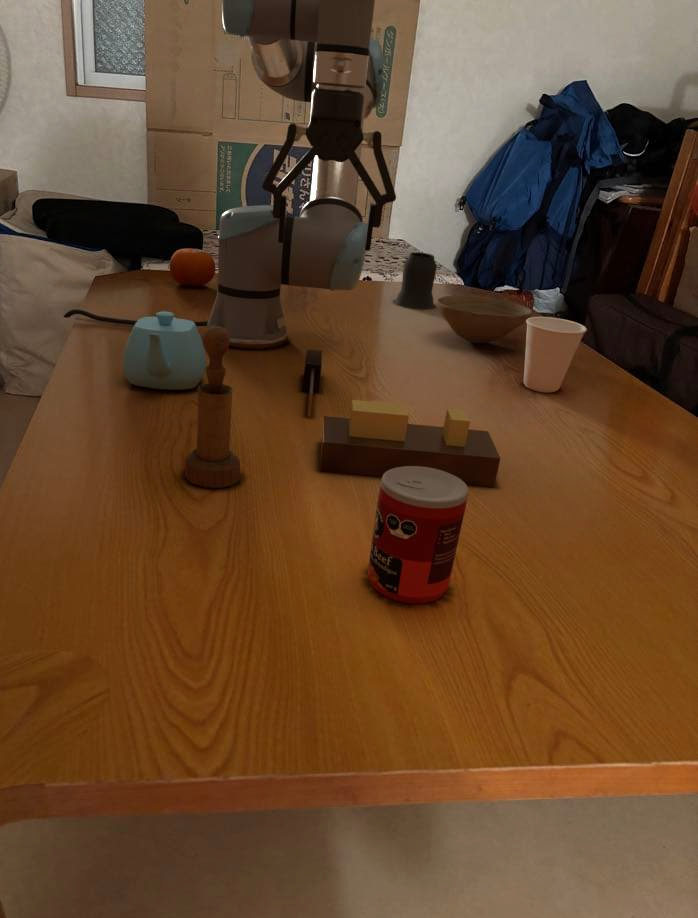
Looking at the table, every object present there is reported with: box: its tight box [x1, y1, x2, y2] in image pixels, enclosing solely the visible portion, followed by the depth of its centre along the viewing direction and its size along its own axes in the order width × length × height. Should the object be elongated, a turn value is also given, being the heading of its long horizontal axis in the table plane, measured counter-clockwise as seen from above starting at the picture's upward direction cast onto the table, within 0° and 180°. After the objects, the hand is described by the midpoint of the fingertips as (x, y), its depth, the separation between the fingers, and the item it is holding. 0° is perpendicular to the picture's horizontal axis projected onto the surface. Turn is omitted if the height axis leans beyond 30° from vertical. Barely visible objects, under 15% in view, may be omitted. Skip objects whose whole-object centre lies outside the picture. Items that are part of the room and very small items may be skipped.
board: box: [319, 415, 501, 488], centre depth 100 cm, size 22×9×4 cm, turn 87°
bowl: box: [436, 294, 533, 344], centre depth 156 cm, size 18×18×8 cm
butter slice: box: [443, 408, 471, 447], centre depth 98 cm, size 2×4×4 cm, turn 177°
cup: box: [522, 316, 588, 393], centre depth 132 cm, size 10×10×11 cm
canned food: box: [367, 466, 469, 604], centre depth 73 cm, size 8×8×11 cm
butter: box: [349, 399, 410, 441], centre depth 98 cm, size 7×4×4 cm, turn 87°
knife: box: [302, 348, 323, 418], centre depth 121 cm, size 19×3×5 cm, turn 177°
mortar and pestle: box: [184, 327, 241, 489], centre depth 89 cm, size 7×6×18 cm
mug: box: [395, 251, 438, 310], centre depth 183 cm, size 12×9×11 cm
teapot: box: [122, 310, 207, 391], centre depth 119 cm, size 13×11×18 cm
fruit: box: [169, 247, 216, 287], centre depth 181 cm, size 11×10×8 cm
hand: (324, 245), depth 121 cm, fingers open, 13 cm apart
